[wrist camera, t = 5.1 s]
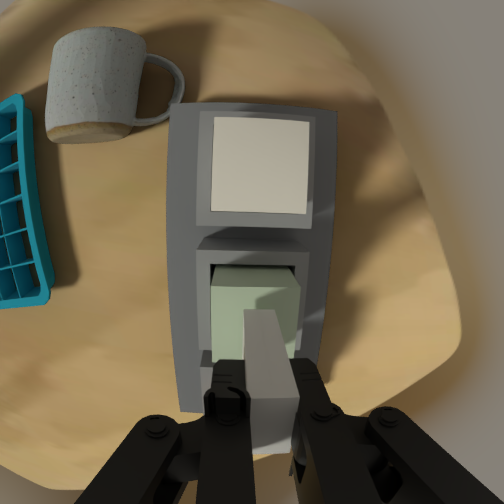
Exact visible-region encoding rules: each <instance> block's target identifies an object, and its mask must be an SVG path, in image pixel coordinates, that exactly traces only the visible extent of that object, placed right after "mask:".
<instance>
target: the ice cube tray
mask: <svg viewBox="0 0 504 504" xmlns="http://www.w3.org/2000/svg"><path fill="white" fill-rule="evenodd" d="M15 116H17V130H16V131H14V132H12V133H11V119H12V118H14V117H15ZM15 143H17V148H18V162H15V163H13V164H12V158H11V145H13V144H15ZM17 171H19V176H20V185H21V194H20V195H18V196H15V191H14V182H13V173H15V172H17ZM21 200H22V201H23V208H24V214H25V220H26V226H27V228H23V229H20V224H19V218H18V212H17V206H16V202H18V201H21ZM0 215H1V221H2V227H3V232H4V235H3V234H2V228H1V223H0V309H7V308H18V307H28V306H38V305H45V304H46V303H47V302H48V300H49V299H50V294H51V290H50V288H51V287H52V286H53V284H54V282H55V273H54V270H53V266H52V262H51V258H50V254H49V249H48V245H47V240H46V235H45V230H44V225H43V220H42V214H41V208H40V202H39V195H38V187H37V179H36V169H35V158H34V142H33V116H32V112H31V110H30V109H28V108H26V107H25V100H24V98H23V95H21V94H16V93H15V94H14V95H12V96H10V97H9V98H7V99H5V100H4V101H2V102H1V103H0ZM25 230H27V231H28V236H29V241H30V245H31V250H32V254H33V258H30V259H27V257H26V253H25V249H24V244H23V240H22V235H21V232H22V231H25ZM3 237H5V242H6V247H7V252H8V256H9V260H10V263H9V261H8V257H7V253H6V248H5V244H4V239H3ZM31 263H35V266H36V270H37V274H38V278H39V281H40V286H39V287H34V284H33V280H32V277H31V273H30V269H29V266H28V264H31ZM10 268H12V272H13V276H14V279H15V283H16V286H17V290H16V287H15V284H14V280H13V277H12V273H11V269H10Z"/></svg>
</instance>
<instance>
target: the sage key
mask: <svg viewBox="0 0 504 504" xmlns="http://www.w3.org/2000/svg"><path fill="white" fill-rule="evenodd" d="M300 292H301V287H300V285H299V284H298V282H297V280H296V279H295V277H294V276H293V274H292V272H291V271H290V269H289V268H288V266H287V265H246V264H216V267H215V271H214V275H213V279H212V283H211V339H212V362H217V361H218V360H219V359H237V360H242V344H243V309H275V313H276V316H277V319H278V323H279V326H280V330H281V333H282V337H283V340H284V344H285V347H286V351H287V354H288V358H294V350H295V342H296V332H297V323H298V313H299V302H300Z"/></svg>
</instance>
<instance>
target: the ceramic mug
mask: <svg viewBox="0 0 504 504" xmlns="http://www.w3.org/2000/svg"><path fill="white" fill-rule="evenodd" d="M144 62H148V63H153V64H156V65H159V66H161V67H163V68H165V69H167V70H168V71H169V72H170V73H171V74H172V75H173V76H174V81H175V86H174V91H173V96H172V99H171V100H170V101H169V103H168V109H167V112H165V113H163V114H161V115H159V116H157V117H153V118H146V119H138V118H136V117H135V116H136V109H137V101H138V96H139V95H138V91H139V85H140V81H141V76H142V70H143V64H144ZM184 91H185V79H184V76H183V74H182V72H181V70H180V69H179V68H178V67H177V66H176V65H175V64H174V63H173V62H171V61H170V60H168V59H166V58H164V57H162V56H159V55H155V54H151V53H146V42H145V40H144V39H143V38H142V37H141V36H140V35H138V34H136V33H134V32H131V31H129V30H125V29H121V28H115V27H90V28H84V29H79V30H76V31H73V32H71V33H68V34H66V35H65V36H63V37H61V38H60V39H59V40H58V41H57V42H56V44H55V46H54V49H53V54H52V61H51V67H50V73H49V80H48V91H47V101H46V109H45V125H46V133H47V137H48V138H49V139H50V140H51V141H52V142H55V143H60V144H82V143H98V142H108V141H114V140H119V139H122V138H125V137H126V136H127V135H128V134H129V133H130V131H131V129H132V127H133V126H148V125H152V124H157V123H159V122H161V121H164V120H165V119H167V118H168V117H170V106H171V104H173V103H181V101H182V98H183V96H184Z"/></svg>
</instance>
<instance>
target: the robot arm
mask: <svg viewBox="0 0 504 504" xmlns="http://www.w3.org/2000/svg"><path fill="white" fill-rule="evenodd" d="M203 400H204V413H205V415H204V416H202V417H201V418H200V419H197V420H195V421H192V422H188V423H181V424H178V423H177V422H176V421H175V420H174V419H172V418H170V417H168V416H165V415H149V416H147V417H144V418H142V419H141V420H140V421H138V422H137V423H136V425H135V426H134V427H133V428H132V430H131V431H130V432H129V434H128V435H127V436H126V438H125V439H124V440H123V441H122V443H121V444H120V445H119V447H118V448H117V449H116V451H115V452H114V453H113V454H112V456H111V457H110V458H109V460H108V461H107V462H106V463H105V465H104V466H103V467H102V469H101V470H100V471H99V472H98V474H97V475H96V476H95V478H94V479H93V480H92V481H91V483H90V484H89V485H88V486H87V488H86V489H85V490H84V492H83V493H82V494H81V495H80V497H79V498H78V499H77V500H76V502H75V503H74V504H178V503H179V500H180V499H181V496H182V494H183V492H184V490H185V488H186V486H187V484H188V481H193V480H198V485H197V495H196V504H256V496H255V483H254V470H253V454H276V453H289V452H290V448H291V446H292V450H293V457H292V462H291V466H290V470H289V476H292V474H294V480H295V485H296V491H297V495H298V501H299V504H504V502H502V501H501V500H500V499H499V498H498V497H497V496H495V494H493V493H492V492H491V491H490V490H489V489H488V488H487V487H485V486H484V485H483V484H482V483H481V482H480V481H479V480H478V479H476V478H475V477H474V476H473V475H472V474H471V473H470V472H469V471H467V470H466V469H465V468H464V467H463V466H462V465H461V464H460V463H459V462H457V461H456V460H455V459H454V458H453V457H452V456H451V455H450V454H449V453H447V452H446V451H445V450H444V449H443V448H442V447H441V446H440V445H438V444H437V443H436V442H435V441H434V440H433V439H432V438H431V437H430V436H429V435H428V434H426V433H425V432H424V431H423V430H422V429H421V428H420V427H419V426H418V425H417V424H416V423H414V422H413V421H412V420H411V419H410V418H409V417H408V416H407V415H406V414H405V413H403V412H402V411H400V410H399V409H397V408H393V407H379V408H376V409H374V410H373V411H372V412H371V413H370V415H369V417H359V416H351V415H346V414H344V412H343V411H342V409H341V408H340V407H339V406H337V405H336V404H334V403H331V401H330V398H329V396H328V393H327V391H326V388H325V386H324V384H323V381H322V380H321V376H320V374H319V372H318V369H317V367H316V364H314V363H313V362H312V361H311V360H310V359H309V358H288V354H287V351H286V347H285V344H284V340H283V337H282V333H281V330H280V326H279V323H278V319H277V316H276V313H275V309H243V344H242V360H237V359H219V360H218V361H217V362H216V363H215V365H214V366H213V372H212V380H211V388H210V389H208V390H207V391H206V392H205V394H204V396H203Z"/></svg>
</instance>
